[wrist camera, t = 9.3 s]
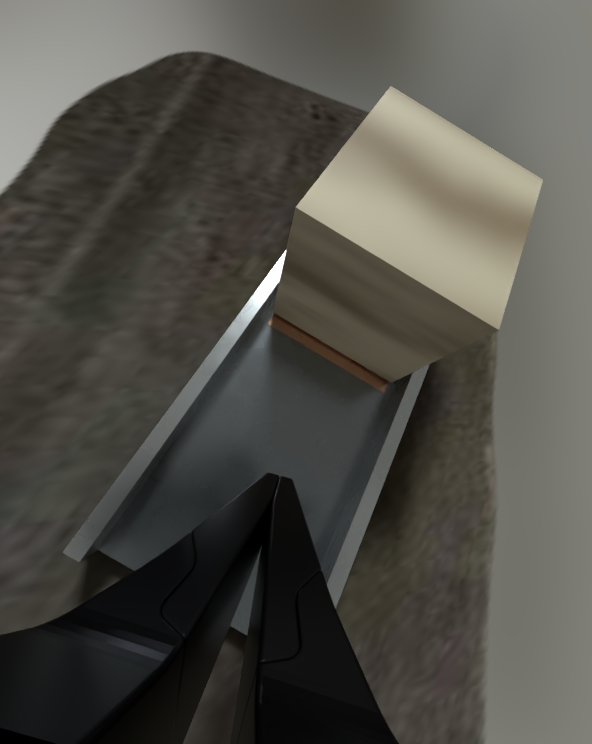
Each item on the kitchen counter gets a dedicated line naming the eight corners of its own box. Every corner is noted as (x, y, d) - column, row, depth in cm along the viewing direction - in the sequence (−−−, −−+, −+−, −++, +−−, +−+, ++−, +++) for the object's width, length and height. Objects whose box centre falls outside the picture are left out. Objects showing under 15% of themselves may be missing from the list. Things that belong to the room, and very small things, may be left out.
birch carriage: (391, 382, 18) (498, 330, 11) (272, 311, 18) (295, 207, 10) (437, 276, 21) (543, 180, 14) (337, 216, 21) (390, 86, 14)
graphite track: (299, 654, 14) (321, 726, 10) (86, 531, 14) (29, 559, 10) (456, 266, 24) (496, 231, 20) (334, 192, 24) (351, 142, 20)
